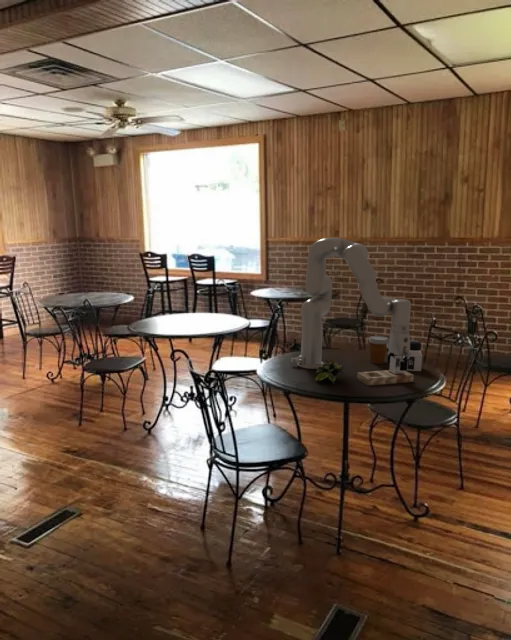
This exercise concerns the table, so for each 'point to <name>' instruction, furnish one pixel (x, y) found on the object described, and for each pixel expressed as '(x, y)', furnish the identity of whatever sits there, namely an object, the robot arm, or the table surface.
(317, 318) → the robot arm
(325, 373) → the passion flower
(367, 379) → the block with square holes
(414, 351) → the container
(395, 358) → the peg
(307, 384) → the table surface
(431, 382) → the table surface
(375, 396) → the table surface
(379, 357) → the disposable coffee cup
